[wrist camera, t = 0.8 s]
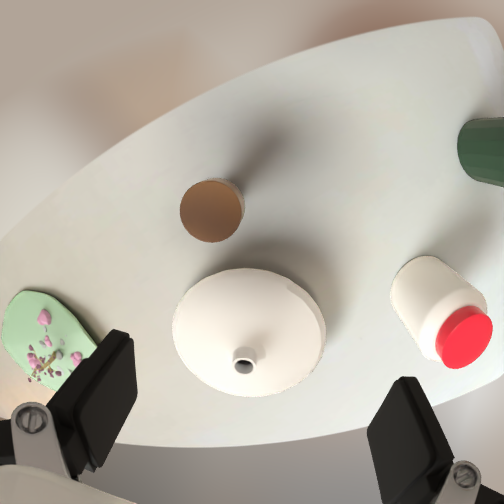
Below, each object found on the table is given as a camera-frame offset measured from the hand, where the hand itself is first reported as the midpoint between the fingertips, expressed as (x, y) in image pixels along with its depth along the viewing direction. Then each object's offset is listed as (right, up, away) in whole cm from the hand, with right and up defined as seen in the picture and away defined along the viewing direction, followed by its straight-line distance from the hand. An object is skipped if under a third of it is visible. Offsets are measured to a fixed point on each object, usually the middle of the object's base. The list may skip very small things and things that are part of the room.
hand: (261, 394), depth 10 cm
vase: (-1, -3, +23) cm, 24 cm away
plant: (-31, -11, +28) cm, 44 cm away
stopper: (-3, +10, +19) cm, 22 cm away
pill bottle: (+18, +1, +20) cm, 27 cm away
